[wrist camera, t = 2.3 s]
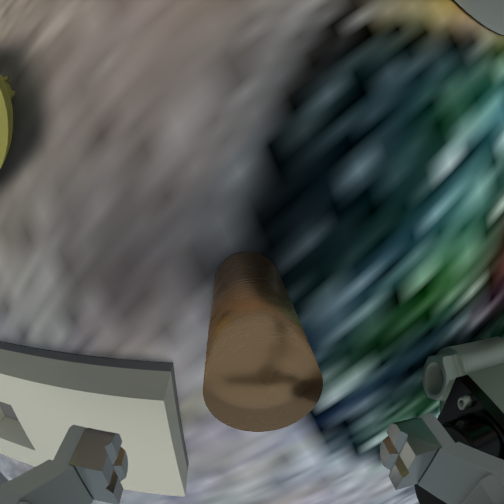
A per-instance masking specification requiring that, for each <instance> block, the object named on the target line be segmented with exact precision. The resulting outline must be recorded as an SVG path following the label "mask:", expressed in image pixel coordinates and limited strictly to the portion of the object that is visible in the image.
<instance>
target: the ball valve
mask: <svg viewBox="0 0 504 504" xmlns="http://www.w3.org/2000/svg"><path fill="white" fill-rule="evenodd" d="M422 383H423V387H424V390H425V393H426V395H427V397H428V398H431V399H434V400H440V412H441V413H440V415H439V417H438V419H437V420H438V421H439V422H440V423H441V425H442V426H443V427H444V429H445V430H446V431H447V433H448V434H449V435H450V437H451V438H452V439H453V440H454V442H455V443H457V442H460V443H463V444H465V445H467V446H470V447H472V448H475V449H477V450H479V451H482V452H484V453H487V454H489V455H492V456H494V457H497V458H500V459H502V460H504V339H503V338H501V337H492V338H487V339H483V340H479V341H474V342H470V343H465V344H460V345H455V346H450V347H445V348H442V349H441V350H440V351H439V352H438V353H437V354H436V355H434V356H428V358H427V360H426V362H425V365H424V367H423V371H422ZM415 491H416V495H417V498H418V501H419V503H420V504H447V503H445V502H443V501H442V500H440V499H439V498H437V497H436V496H434V495H433V494H431V493H430V492H428V491H427V490H425V489H424V488H422V487H421V486H419V485H418V484H415Z"/></svg>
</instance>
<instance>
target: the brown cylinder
mask: <svg viewBox="0 0 504 504" xmlns="http://www.w3.org/2000/svg"><path fill="white" fill-rule="evenodd" d="M322 387H323V379H322V374H321V371H320V369H319V367H318V364H317V362H316V359H315V357H314V355H313V352H312V350H311V347H310V345H309V343H308V340H307V338H306V336H305V333H304V331H303V329H302V326H301V324H300V321H299V319H298V317H297V314H296V312H295V310H294V307H293V305H292V303H291V300H290V298H289V296H288V293H287V291H286V289H285V286H284V284H283V282H282V279H281V277H280V275H279V272H278V270H277V268H276V266H275V265H274V264H273V262H272V261H271V260H269V259H268V258H267V257H265V256H263V255H261V254H259V253H255V252H241V253H237V254H234V255H232V256H230V257H228V258H227V259H226V260H225V261H223V262H222V264H221V265H220V266H219V268H218V270H217V272H216V274H215V279H214V287H213V295H212V304H211V313H210V323H209V332H208V342H207V352H206V362H205V373H204V384H203V396H204V401H205V403H206V406H207V407H208V409H209V411H210V412H211V413H212V414H213V415H214V416H215V417H216V418H217V419H218V420H220V421H221V422H223V423H224V424H226V425H228V426H231V427H233V428H236V429H240V430H244V431H252V432H263V431H272V430H277V429H280V428H283V427H286V426H289V425H291V424H293V423H295V422H297V421H298V420H300V419H301V418H303V417H304V416H305V415H307V414H308V413H309V412H310V411H311V410H312V409H313V407H314V406H315V405H316V403H317V402H318V400H319V398H320V395H321V392H322Z"/></svg>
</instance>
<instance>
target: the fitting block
mask: <svg viewBox="0 0 504 504" xmlns="http://www.w3.org/2000/svg"><path fill="white" fill-rule="evenodd" d="M72 425H77V426H82V427H87V428H92V429H97V430H102V431H107V432H113V433H118V434H120V437H121V439H122V444H121V447H122V448H123V449H124V450H125V451H126V454H127V458H128V471H127V476H126V478H125V479H123V480H122V481H121V484H122V487H123V489H126V490H132V491H138V492H145V493H153V494H162V495H172V496H185V497H186V484H187V473H188V458H187V453H186V447H185V442H184V436H183V430H182V424H181V418H180V412H179V405H178V398H177V391H176V384H175V376H174V368H173V363H163V362H147V361H133V360H122V359H111V358H101V357H93V356H84V355H76V354H69V353H62V352H55V351H49V350H43V349H37V348H31V347H25V346H20V345H15V344H10V343H5V342H0V453H1V454H3V455H6V456H8V457H11V458H13V459H16V460H18V461H21V462H24V463H26V464H29V465H32V466H35V467H36V466H38V465H40V464H42V463H43V462H45V461H47V460H49V459H50V460H53V459H54V457H55V455H56V453H57V451H58V449H59V447H60V445H61V443H62V441H63V439H64V437H65V435H66V433H67V431H68V429H69V427H71V426H72Z"/></svg>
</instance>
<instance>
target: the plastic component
mask: <svg viewBox="0 0 504 504" xmlns="http://www.w3.org/2000/svg"><path fill="white" fill-rule="evenodd" d="M8 79H9V78H8V77H7V76H4V77H2V76H1V74H0V169H1V167H2V165H3V163H4V161H5V159H6V157H7V154H8V151H9V148H10V145H11V140H12V133H13V109H12V103H11V99H12V97H13V96H14V95H15V91H14V90H13V91H12V90H11V87H10V85H9V83H8Z"/></svg>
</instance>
